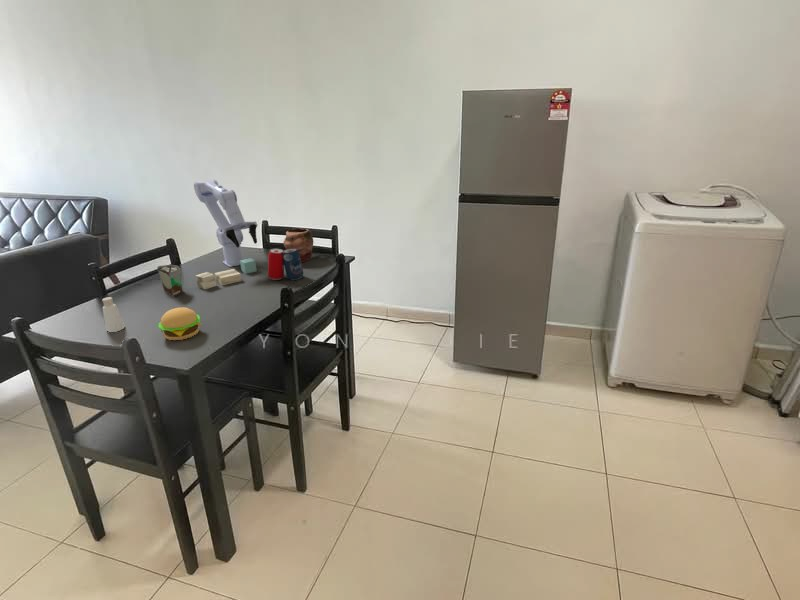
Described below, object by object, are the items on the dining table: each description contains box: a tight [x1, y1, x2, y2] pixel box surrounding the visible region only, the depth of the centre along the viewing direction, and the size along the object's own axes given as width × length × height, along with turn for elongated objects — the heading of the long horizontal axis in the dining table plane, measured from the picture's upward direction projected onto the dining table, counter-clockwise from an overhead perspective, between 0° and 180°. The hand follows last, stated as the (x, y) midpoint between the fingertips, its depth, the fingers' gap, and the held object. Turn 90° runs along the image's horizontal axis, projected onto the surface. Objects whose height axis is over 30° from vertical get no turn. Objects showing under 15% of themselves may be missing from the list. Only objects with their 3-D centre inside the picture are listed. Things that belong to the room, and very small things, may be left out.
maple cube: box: [195, 271, 217, 290], centre depth 182 cm, size 5×5×5 cm
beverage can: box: [267, 247, 285, 281], centre depth 186 cm, size 6×6×12 cm
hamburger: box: [158, 306, 202, 342], centre depth 142 cm, size 12×12×9 cm
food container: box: [157, 264, 184, 298], centre depth 176 cm, size 12×6×10 cm, turn 47°
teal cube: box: [239, 257, 258, 275], centre depth 198 cm, size 5×5×5 cm
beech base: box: [214, 268, 242, 286], centre depth 188 cm, size 8×8×4 cm
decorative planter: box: [282, 228, 314, 263], centre depth 211 cm, size 20×12×14 cm, turn 164°
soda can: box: [282, 248, 304, 281], centre depth 187 cm, size 7×7×12 cm
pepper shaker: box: [101, 296, 126, 333], centre depth 145 cm, size 5×5×11 cm
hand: (247, 244), depth 191 cm, fingers open, 7 cm apart
